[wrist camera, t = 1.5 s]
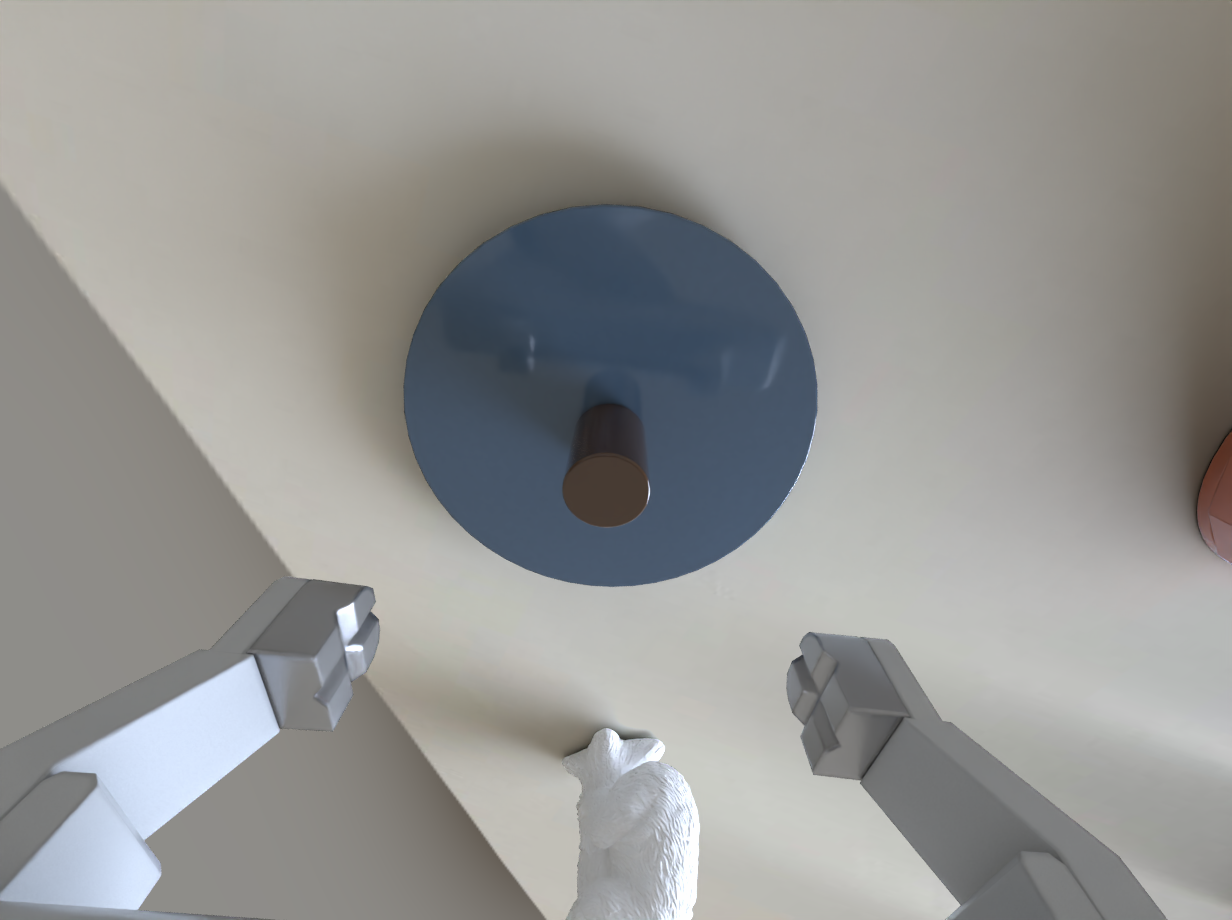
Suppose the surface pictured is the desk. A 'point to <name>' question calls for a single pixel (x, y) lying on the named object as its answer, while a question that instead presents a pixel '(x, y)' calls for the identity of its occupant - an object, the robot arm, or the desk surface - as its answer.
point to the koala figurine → (633, 833)
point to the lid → (610, 395)
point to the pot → (1217, 503)
